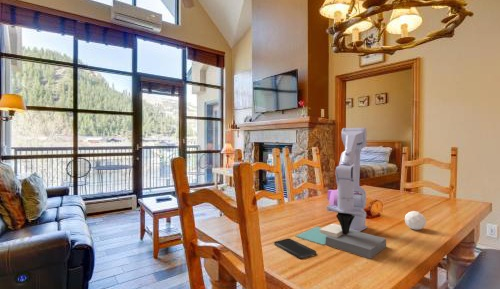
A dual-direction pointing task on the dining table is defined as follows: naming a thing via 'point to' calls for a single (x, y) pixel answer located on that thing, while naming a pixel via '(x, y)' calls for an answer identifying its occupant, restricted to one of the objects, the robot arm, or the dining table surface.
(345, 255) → the dining table surface
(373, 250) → the block
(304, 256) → the phone
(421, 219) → the geometric ball
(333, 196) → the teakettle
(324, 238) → the mat
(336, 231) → the tile
